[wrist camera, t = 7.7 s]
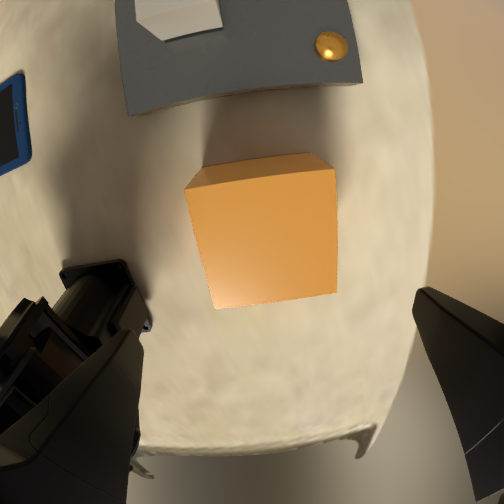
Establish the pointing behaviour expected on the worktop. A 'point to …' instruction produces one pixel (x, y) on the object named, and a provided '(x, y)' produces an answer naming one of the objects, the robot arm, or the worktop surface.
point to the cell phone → (14, 125)
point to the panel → (238, 53)
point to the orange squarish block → (266, 229)
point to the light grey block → (177, 16)
